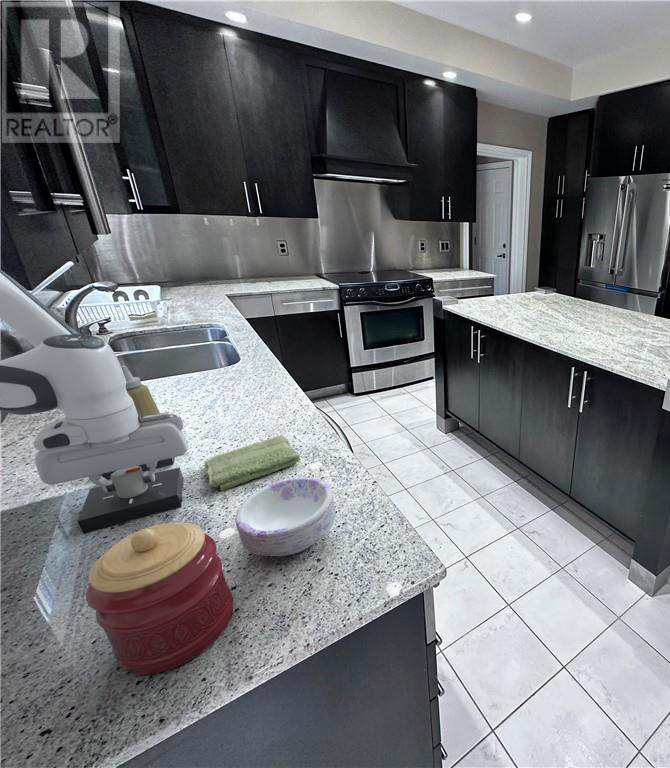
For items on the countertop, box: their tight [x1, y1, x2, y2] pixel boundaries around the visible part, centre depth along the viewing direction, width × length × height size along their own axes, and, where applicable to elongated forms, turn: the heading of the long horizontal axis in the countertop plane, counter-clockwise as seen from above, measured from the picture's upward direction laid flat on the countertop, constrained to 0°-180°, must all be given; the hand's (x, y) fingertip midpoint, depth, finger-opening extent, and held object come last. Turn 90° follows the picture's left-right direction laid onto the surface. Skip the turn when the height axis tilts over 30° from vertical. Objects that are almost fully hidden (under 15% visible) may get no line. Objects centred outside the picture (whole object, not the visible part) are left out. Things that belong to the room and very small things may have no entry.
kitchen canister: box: [85, 522, 234, 675], centre depth 54 cm, size 13×13×18 cm
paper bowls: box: [234, 476, 337, 557], centre depth 72 cm, size 15×15×8 cm
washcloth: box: [204, 435, 301, 491], centre depth 93 cm, size 13×18×3 cm
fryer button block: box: [101, 457, 176, 480], centre depth 93 cm, size 12×10×4 cm
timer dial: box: [110, 466, 148, 498], centre depth 78 cm, size 4×4×5 cm
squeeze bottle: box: [120, 365, 161, 417], centre depth 103 cm, size 8×8×18 cm
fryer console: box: [76, 467, 184, 535], centre depth 80 cm, size 14×11×3 cm
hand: (130, 485), depth 79 cm, fingers closed on timer dial, 4 cm apart
